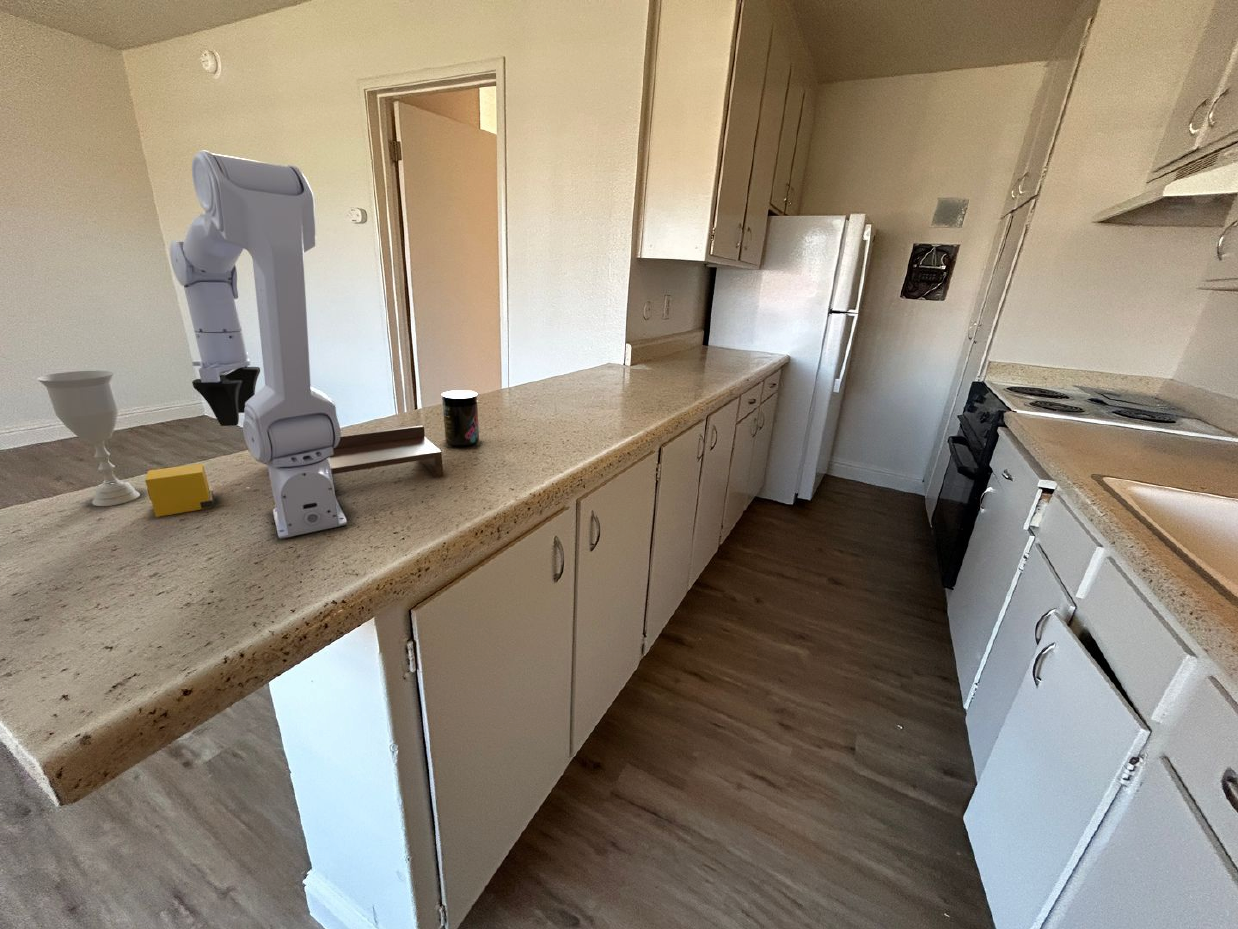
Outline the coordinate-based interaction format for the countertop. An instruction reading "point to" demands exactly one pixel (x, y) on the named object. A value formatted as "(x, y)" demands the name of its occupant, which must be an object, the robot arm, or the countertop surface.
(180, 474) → the tape measure
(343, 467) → the shelf
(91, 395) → the chalice
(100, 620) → the countertop surface
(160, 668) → the countertop surface
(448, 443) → the supplement container
